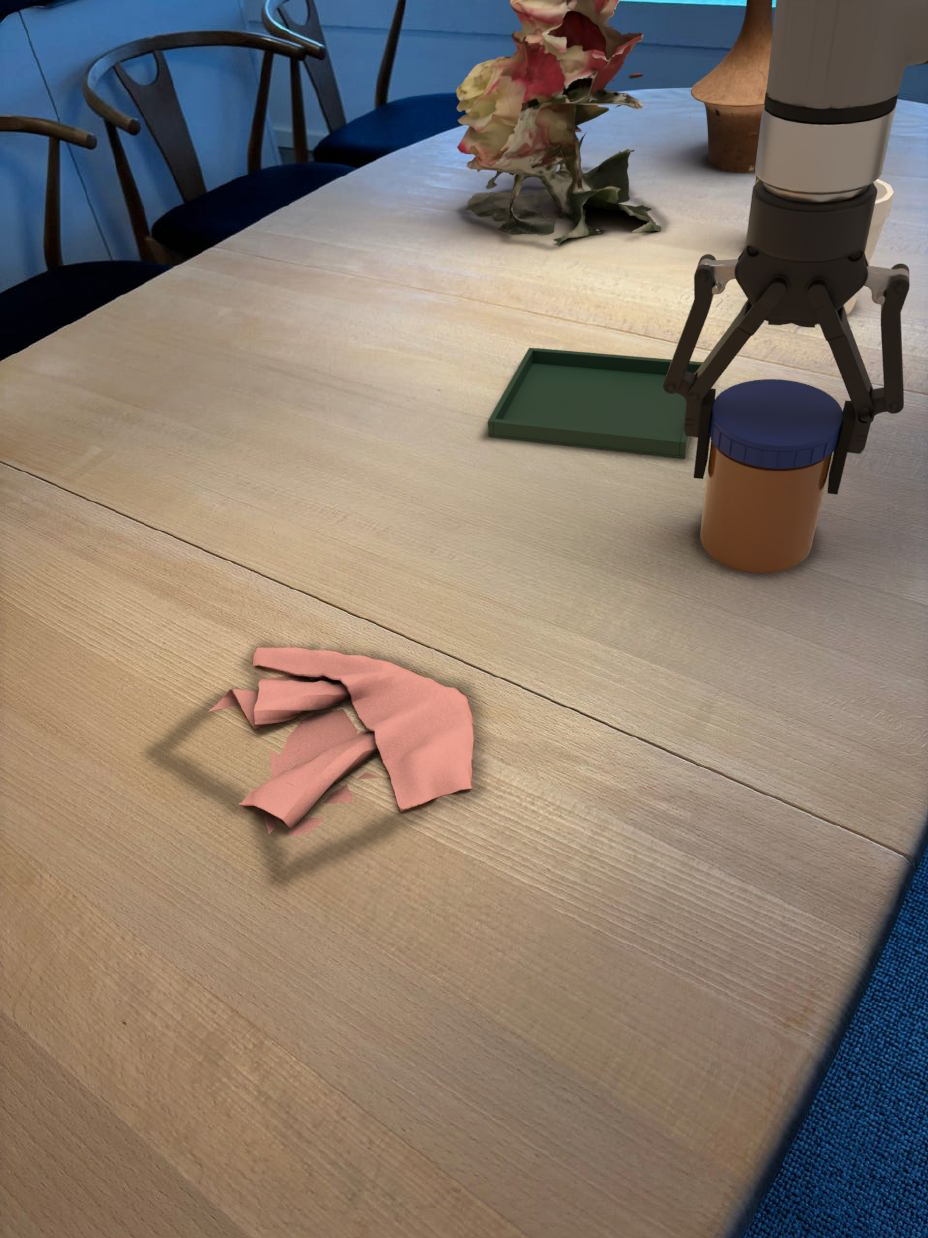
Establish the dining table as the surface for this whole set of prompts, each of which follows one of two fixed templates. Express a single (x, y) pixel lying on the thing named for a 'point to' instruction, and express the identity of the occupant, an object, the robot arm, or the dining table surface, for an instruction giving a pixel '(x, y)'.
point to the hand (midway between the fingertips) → (765, 476)
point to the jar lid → (775, 423)
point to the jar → (760, 513)
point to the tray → (593, 403)
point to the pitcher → (738, 93)
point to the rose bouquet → (549, 117)
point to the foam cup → (875, 226)
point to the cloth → (354, 731)
